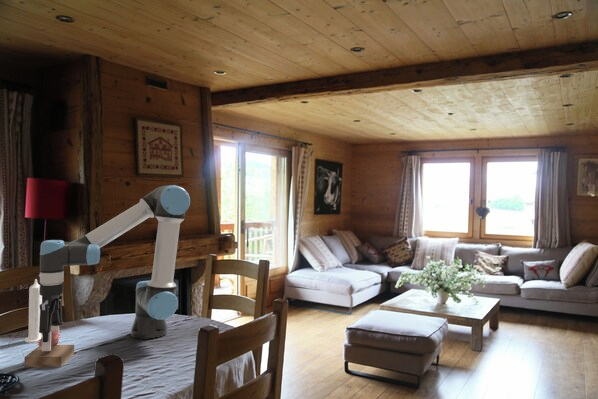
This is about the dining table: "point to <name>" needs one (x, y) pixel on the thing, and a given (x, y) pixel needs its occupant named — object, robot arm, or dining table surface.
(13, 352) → the dining table surface
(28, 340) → the candle
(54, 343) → the flower
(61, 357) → the walnut base
